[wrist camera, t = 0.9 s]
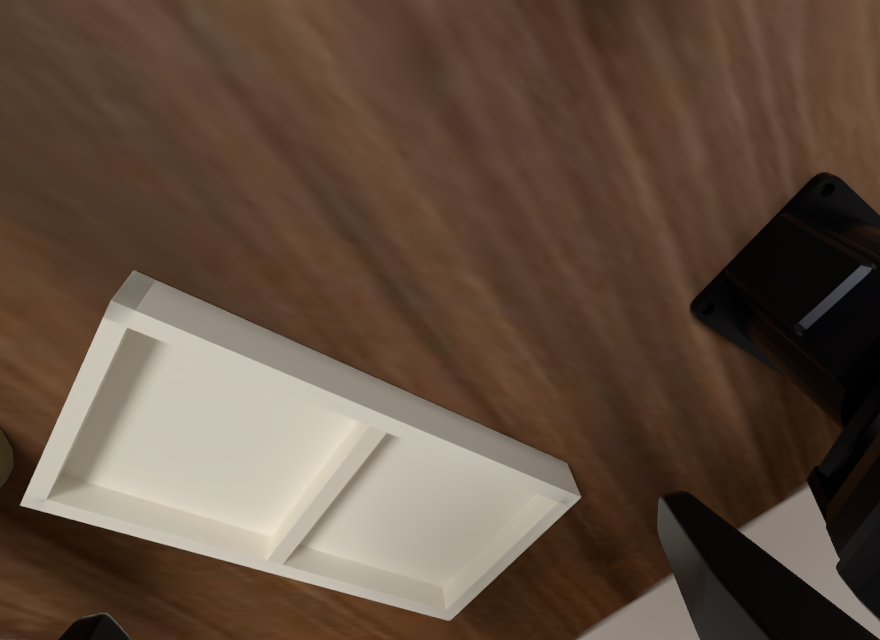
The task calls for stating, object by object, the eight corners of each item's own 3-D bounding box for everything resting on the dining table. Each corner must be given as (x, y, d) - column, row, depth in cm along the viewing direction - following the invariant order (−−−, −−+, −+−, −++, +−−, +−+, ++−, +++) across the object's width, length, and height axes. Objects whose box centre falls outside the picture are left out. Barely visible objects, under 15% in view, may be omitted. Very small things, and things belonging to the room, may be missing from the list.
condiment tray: (566, 462, 26) (581, 497, 24) (444, 583, 29) (449, 621, 28) (134, 269, 18) (110, 300, 17) (45, 464, 22) (19, 505, 20)
